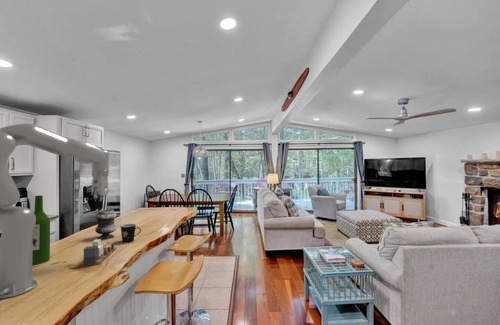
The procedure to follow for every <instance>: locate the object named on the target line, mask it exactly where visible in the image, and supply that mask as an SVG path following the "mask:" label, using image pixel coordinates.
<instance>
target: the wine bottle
mask: <svg viewBox="0 0 500 325" xmlns="http://www.w3.org/2000/svg"><path fill="white" fill-rule="evenodd" d="M43 202H44V195H34V211H33V212H34V214H35V216H36V223H35V227H34V231H33V254H32V266H34V265H35V266H36V265H40V264H43V263H47V262H49V260H50V257H51V251H50V250H51V220H50V217H49V216H48V215H47V214H46V213H45V211H44V203H43Z"/></svg>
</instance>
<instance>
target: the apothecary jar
mask: <svg viewBox="0 0 500 325" xmlns="http://www.w3.org/2000/svg"><path fill="white" fill-rule="evenodd" d="M116 218H117V213H116V212H115V211H114V209H109V208H107V209H106V208H105V209H99V211H98V213H97V214H96V216H95V219H96V220H97V226H96V227H95V230H94V231H95V233H97V234H99V235H100V236H98V237H97V238H96V239H101V241H102V240H105V241H106V240H110V239H113V238H115V235H113V233H114V232H115V231H116V230H117V226H116V224H115V219H116Z"/></svg>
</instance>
